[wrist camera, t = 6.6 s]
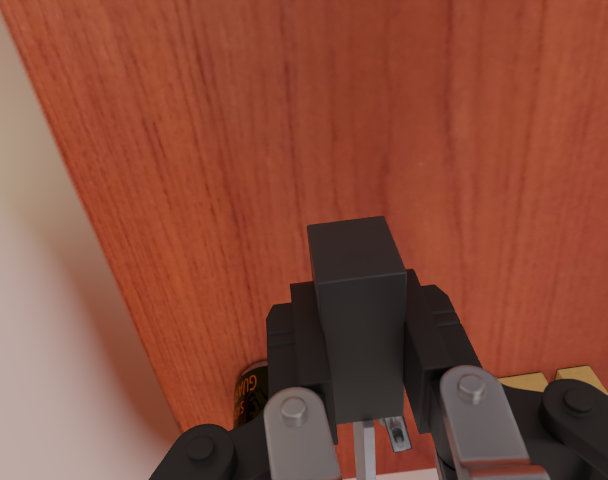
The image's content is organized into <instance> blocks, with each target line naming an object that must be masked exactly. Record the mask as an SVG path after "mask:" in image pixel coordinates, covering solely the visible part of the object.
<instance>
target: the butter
mask: <svg viewBox="0 0 608 480" xmlns="http://www.w3.org/2000/svg"><path fill="white" fill-rule="evenodd" d="M498 380H499V382H500V383H502V384H504V385H507V386H510V387H513V388H518V389H525V390H532V391H539V392H544V389H545V387H546V386H547V385H548V382H547V381H546V379H545V377H544V376H543V374H542V373H541V372H540V373H533V374H526V375H519V376H512V377H505V378H498Z"/></svg>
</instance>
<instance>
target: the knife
mask: <svg viewBox="0 0 608 480" xmlns="http://www.w3.org/2000/svg"><path fill="white" fill-rule="evenodd" d="M307 233H308V242H309V251H310V261H311V270H312V279H313V283H314V289H315V296H316V302H317V308H318V315H319V321H320V328H321V331H324V335H325V341H326V347H327V353H328V359H329V365H330V371H331V377H332V385H333V396H334V406H335V417H336V425H338V424H345V423H353V431H354V446H355V462H356V477H357V480H376V470H375V435H374V423H373V420H376V419H384V418H391V417H399V416H403V414H404V347H405V320H406V283H407V272H406V269H405V267H404V264H403V262H402V259H401V257H400V254H399V252H398V249H397V247H396V244H395V242H394V240H393V237H392V235H391V232H390V230H389V227H388V225H387V222H386V220H385V217H384V216H377V217H369V218H361V219H353V220H345V221H337V222H329V223H321V224H313V225H308V226H307Z"/></svg>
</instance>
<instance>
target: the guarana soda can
mask: <svg viewBox="0 0 608 480" xmlns="http://www.w3.org/2000/svg"><path fill="white" fill-rule="evenodd" d="M268 394H269V387H268V361H261V362H258V363H256V364H253V365H251V366H250V367H248V368H247V369H246V370H245V371H244V372H243V374H242V375H241V376H240V378H239V380H238V381H237V383H236V386H235V393H234V417H233V429H235V428H237V427H239V426H242V425H244V424H246V423H248V422H250V421H251V420H253V419H254V418H255V417H256V416H257V415H259V414H260V412H261V411H262V410H263V408H264V407H265V405H266V403H267V400H268Z"/></svg>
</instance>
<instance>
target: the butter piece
mask: <svg viewBox="0 0 608 480" xmlns="http://www.w3.org/2000/svg"><path fill="white" fill-rule="evenodd" d="M558 379H576V380H580V381H583V382H586V383H588V384H591V385H592V386H594V387H596V388H597V389H599V390H600V391H602V392H604V393H605V394H607V395H608V393H607V391H606V390H605V388H604V387H603V385H602V384H601V383H600V381H599V380H598V378H597V377H596V375H595V374H594V372H593V371H592V370H591V368H590V367H589V366H581V367H574V368H567V369H560V370H557V374H556V378H555V380H558Z"/></svg>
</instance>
